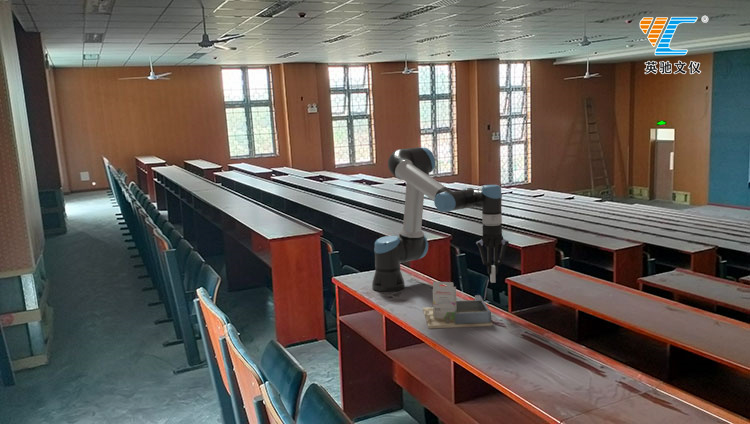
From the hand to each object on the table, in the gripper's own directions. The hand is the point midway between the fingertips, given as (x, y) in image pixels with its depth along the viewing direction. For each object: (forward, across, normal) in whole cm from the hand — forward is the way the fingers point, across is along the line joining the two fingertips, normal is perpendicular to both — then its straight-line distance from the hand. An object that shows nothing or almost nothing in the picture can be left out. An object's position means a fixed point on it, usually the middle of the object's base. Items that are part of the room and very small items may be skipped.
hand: (492, 281), depth 235 cm
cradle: (+12, -16, -7) cm, 21 cm away
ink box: (+11, -21, -8) cm, 25 cm away
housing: (+10, -12, -7) cm, 17 cm away
